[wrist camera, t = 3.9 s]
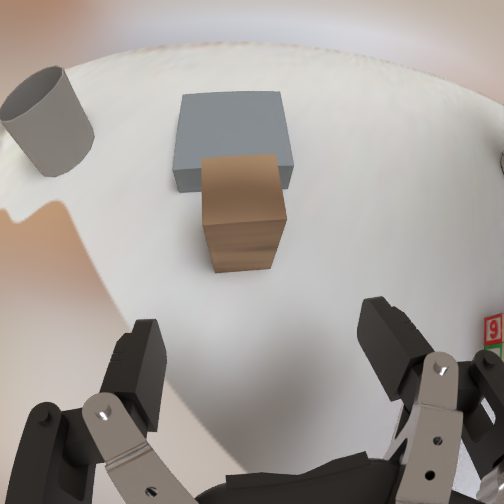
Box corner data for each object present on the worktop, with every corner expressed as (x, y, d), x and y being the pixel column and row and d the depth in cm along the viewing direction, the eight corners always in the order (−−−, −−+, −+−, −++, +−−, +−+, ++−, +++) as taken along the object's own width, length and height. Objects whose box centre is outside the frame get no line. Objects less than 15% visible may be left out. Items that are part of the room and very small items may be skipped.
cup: (51, 130, 29) (19, 78, 20) (101, 118, 30) (75, 57, 20) (30, 182, 26) (-14, 131, 17) (83, 172, 27) (42, 109, 17)
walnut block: (212, 223, 25) (201, 158, 17) (264, 219, 26) (275, 154, 17) (215, 273, 24) (202, 225, 15) (270, 268, 24) (287, 219, 16)
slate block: (187, 120, 30) (182, 94, 26) (276, 117, 31) (279, 91, 27) (180, 194, 27) (172, 170, 23) (287, 190, 27) (293, 165, 23)
